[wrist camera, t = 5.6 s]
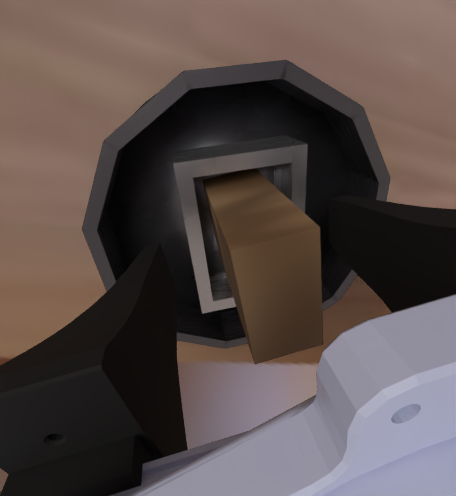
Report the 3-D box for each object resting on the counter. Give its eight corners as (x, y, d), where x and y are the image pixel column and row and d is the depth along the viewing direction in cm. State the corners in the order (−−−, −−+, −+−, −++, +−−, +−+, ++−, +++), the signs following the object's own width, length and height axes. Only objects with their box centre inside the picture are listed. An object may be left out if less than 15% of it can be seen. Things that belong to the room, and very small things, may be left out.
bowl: (370, 51, 12) (417, 43, 10) (340, 289, 18) (364, 318, 16) (53, 86, 10) (22, 86, 8) (140, 331, 17) (136, 368, 15)
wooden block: (253, 167, 13) (320, 226, 7) (265, 250, 15) (323, 344, 10) (201, 179, 13) (229, 251, 7) (221, 262, 15) (254, 364, 10)
